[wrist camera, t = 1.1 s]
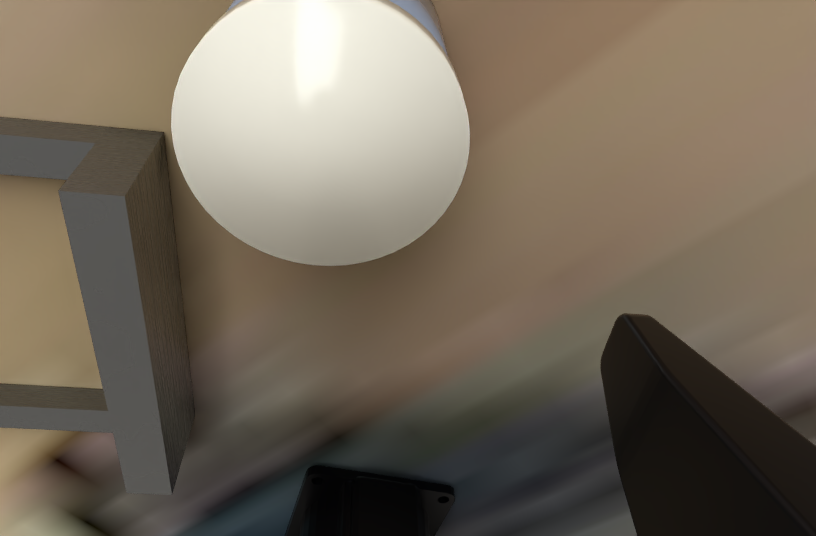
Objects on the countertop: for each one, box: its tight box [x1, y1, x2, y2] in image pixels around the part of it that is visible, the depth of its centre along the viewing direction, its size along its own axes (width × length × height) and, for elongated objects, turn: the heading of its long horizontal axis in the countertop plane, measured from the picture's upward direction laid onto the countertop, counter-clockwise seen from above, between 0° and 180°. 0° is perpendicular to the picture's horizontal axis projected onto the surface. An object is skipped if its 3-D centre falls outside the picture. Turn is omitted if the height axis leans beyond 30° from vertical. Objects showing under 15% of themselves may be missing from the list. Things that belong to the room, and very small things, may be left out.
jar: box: [171, 0, 470, 266], centre depth 15 cm, size 6×6×5 cm
